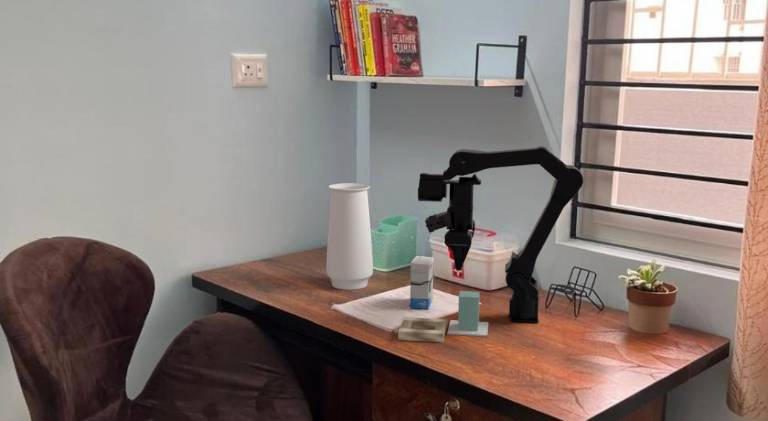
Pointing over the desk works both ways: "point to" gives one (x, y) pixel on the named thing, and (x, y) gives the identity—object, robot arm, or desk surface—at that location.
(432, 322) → the birch holder
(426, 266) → the ink box
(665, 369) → the desk surface
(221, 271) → the desk surface
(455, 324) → the grey coaster
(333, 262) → the vase
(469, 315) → the teal block
